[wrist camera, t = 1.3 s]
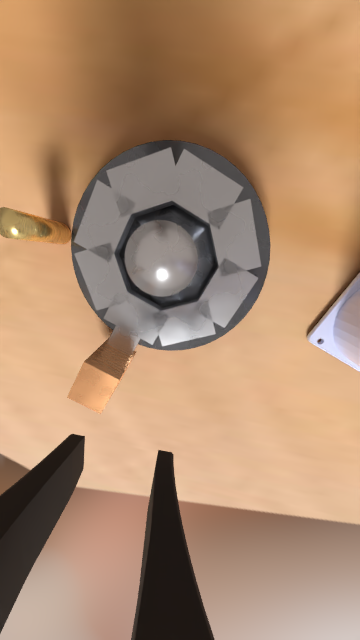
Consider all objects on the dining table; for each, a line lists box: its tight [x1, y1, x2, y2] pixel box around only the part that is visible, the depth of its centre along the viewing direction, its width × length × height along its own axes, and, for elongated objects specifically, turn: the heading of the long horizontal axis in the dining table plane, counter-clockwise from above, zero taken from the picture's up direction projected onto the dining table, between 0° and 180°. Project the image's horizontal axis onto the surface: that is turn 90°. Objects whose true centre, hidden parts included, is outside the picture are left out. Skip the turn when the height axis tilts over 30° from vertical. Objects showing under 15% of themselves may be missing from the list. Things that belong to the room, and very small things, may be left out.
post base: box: [71, 140, 270, 350], centre depth 14 cm, size 14×14×6 cm
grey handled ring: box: [67, 147, 261, 414], centre depth 13 cm, size 16×12×4 cm
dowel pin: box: [0, 207, 71, 244], centre depth 14 cm, size 2×2×5 cm
